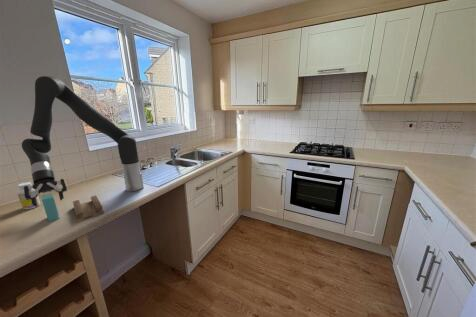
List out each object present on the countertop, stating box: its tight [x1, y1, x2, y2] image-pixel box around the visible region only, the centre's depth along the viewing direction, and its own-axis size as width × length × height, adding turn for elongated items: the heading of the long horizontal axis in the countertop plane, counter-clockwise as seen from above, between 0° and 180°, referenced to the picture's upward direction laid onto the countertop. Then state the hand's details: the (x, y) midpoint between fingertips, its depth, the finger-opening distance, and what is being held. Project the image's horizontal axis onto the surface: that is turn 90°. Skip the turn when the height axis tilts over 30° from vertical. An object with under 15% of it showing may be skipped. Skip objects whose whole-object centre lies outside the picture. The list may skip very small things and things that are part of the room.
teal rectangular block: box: [41, 193, 60, 223], centre depth 92 cm, size 4×5×11 cm, turn 43°
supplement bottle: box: [16, 181, 41, 210], centre depth 102 cm, size 7×7×13 cm
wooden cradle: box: [72, 194, 105, 222], centre depth 99 cm, size 10×17×4 cm, turn 43°
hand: (49, 202), depth 92 cm, fingers open, 8 cm apart
